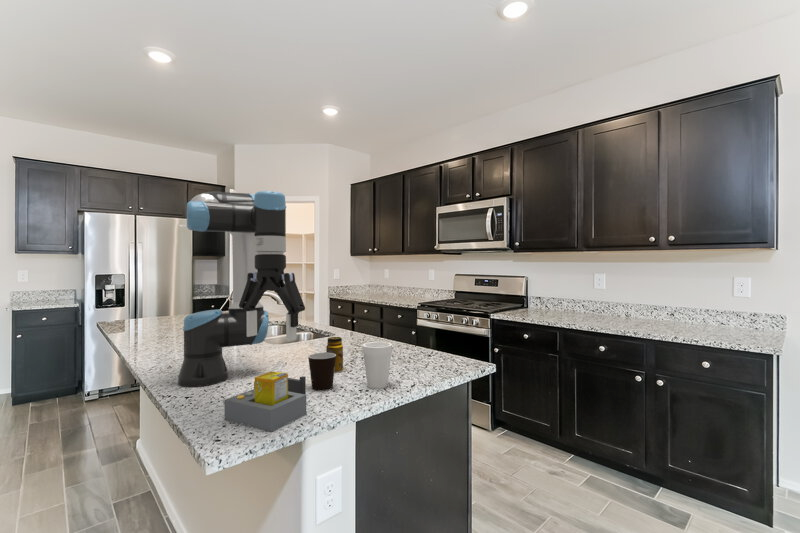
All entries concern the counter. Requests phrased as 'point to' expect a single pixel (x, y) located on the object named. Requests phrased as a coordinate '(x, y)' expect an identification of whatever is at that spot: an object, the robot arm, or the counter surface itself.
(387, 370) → the foam cup
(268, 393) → the supplement box
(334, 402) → the counter surface
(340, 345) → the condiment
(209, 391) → the counter surface
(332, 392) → the counter surface
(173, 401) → the counter surface
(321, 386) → the coffee mug
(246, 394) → the port
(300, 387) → the dark grey rack
